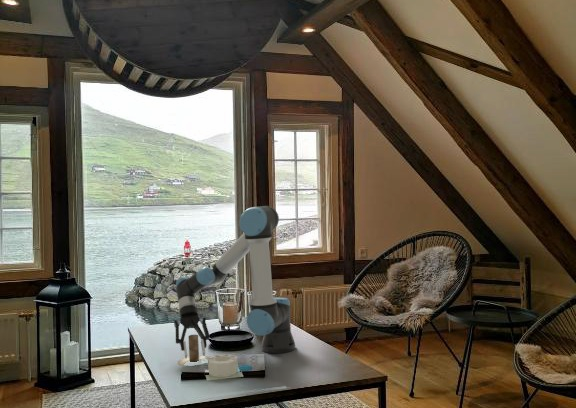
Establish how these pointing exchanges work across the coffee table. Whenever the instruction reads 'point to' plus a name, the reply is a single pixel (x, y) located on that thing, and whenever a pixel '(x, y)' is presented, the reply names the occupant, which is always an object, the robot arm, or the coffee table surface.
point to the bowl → (222, 365)
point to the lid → (192, 351)
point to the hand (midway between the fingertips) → (195, 355)
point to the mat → (238, 374)
